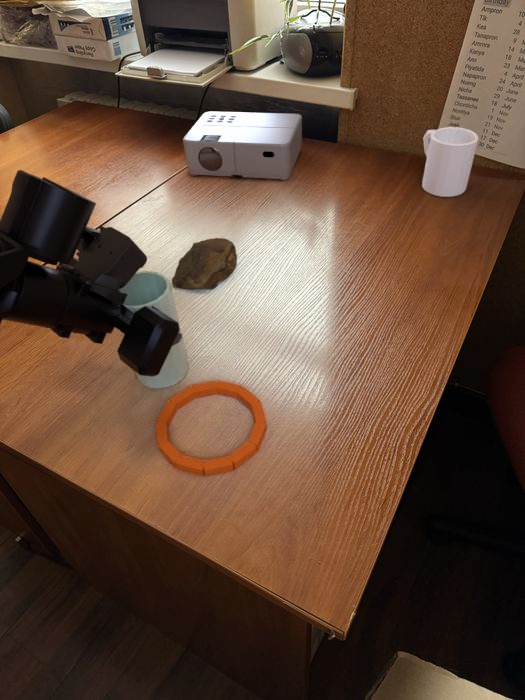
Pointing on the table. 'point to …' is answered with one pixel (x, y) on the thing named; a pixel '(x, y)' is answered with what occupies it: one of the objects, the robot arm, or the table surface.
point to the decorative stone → (206, 264)
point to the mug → (448, 160)
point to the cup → (159, 294)
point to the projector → (244, 144)
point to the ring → (218, 463)
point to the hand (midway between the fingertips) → (161, 325)
